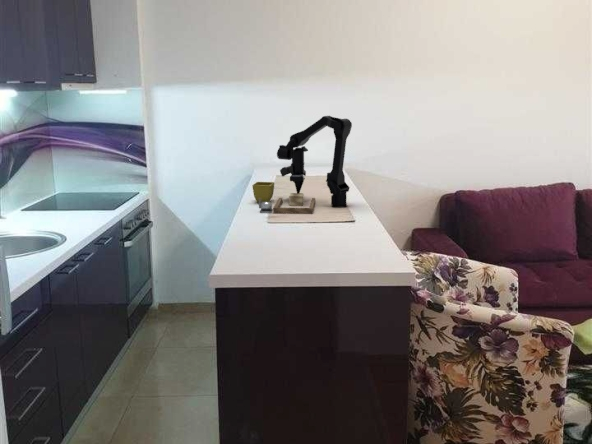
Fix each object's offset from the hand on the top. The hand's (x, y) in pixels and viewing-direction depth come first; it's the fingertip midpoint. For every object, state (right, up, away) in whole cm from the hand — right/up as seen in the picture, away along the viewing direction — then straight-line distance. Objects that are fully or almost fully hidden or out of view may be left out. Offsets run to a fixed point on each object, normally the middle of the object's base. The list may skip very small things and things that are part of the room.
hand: (298, 193), depth 298 cm
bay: (-1, -7, -15) cm, 16 cm away
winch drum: (-14, -9, -22) cm, 28 cm away
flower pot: (-16, -5, -2) cm, 17 cm away
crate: (-1, -6, -8) cm, 10 cm away
